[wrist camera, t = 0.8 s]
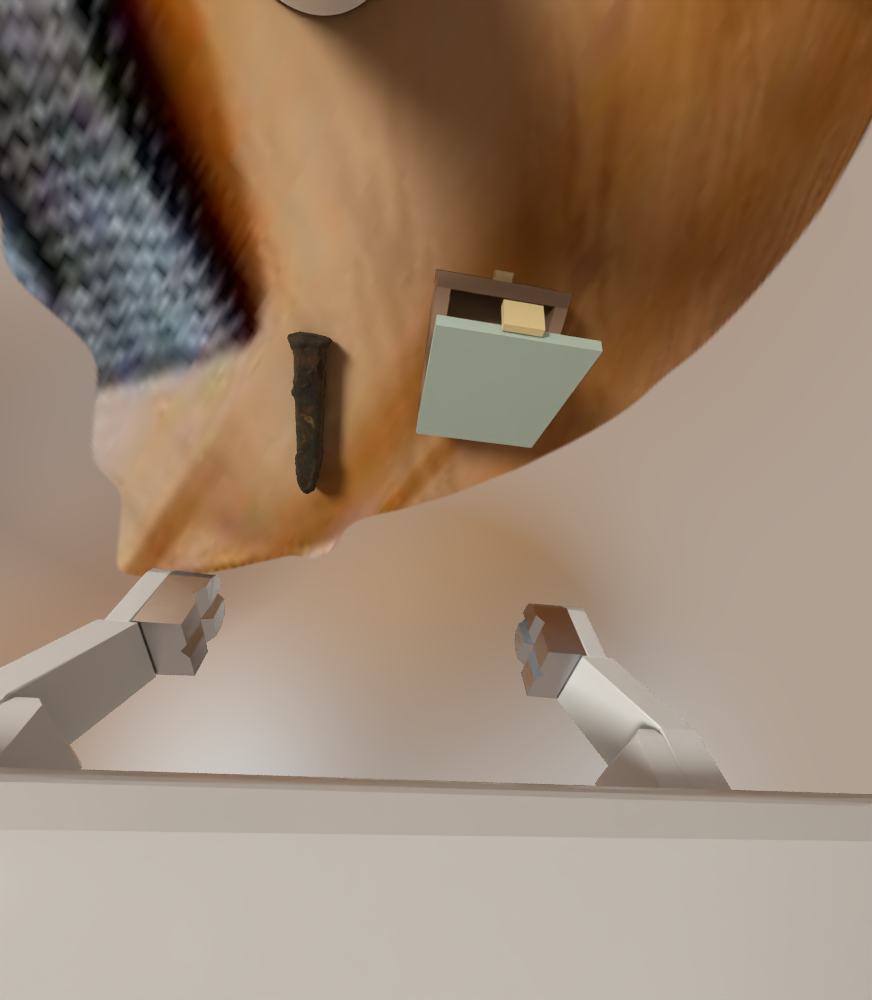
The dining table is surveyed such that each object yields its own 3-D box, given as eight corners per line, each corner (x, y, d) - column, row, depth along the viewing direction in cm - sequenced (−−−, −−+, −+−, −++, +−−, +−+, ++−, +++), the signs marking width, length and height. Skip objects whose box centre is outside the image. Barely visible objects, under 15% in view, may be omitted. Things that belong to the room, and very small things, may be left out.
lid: (439, 288, 27) (437, 315, 26) (603, 316, 29) (608, 343, 28) (417, 411, 41) (416, 433, 40) (530, 426, 42) (531, 447, 41)
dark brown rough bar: (295, 326, 41) (282, 333, 37) (333, 334, 41) (324, 342, 37) (292, 479, 51) (281, 498, 47) (323, 484, 51) (315, 503, 47)
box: (437, 259, 38) (440, 259, 32) (553, 280, 39) (575, 283, 34) (418, 405, 46) (418, 425, 40) (515, 418, 47) (528, 439, 41)
